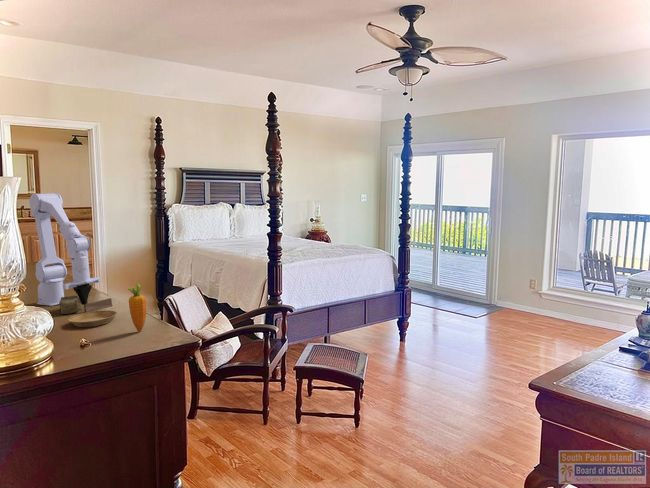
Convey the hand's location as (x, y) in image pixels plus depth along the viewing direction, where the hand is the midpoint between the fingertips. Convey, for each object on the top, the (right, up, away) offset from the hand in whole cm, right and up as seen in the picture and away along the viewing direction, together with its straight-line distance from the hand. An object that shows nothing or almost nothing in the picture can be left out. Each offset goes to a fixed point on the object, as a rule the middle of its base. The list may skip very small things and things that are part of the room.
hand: (84, 304), depth 181 cm
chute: (0, -1, +1) cm, 2 cm away
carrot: (+34, -4, -33) cm, 48 cm away
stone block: (-3, -2, -4) cm, 5 cm away
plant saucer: (+14, -4, -21) cm, 25 cm away
